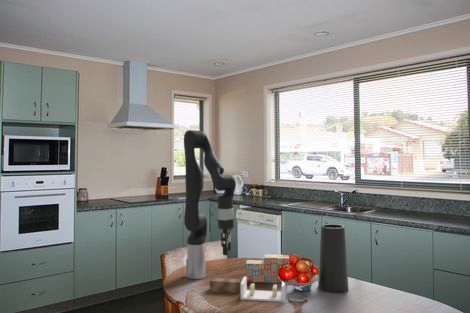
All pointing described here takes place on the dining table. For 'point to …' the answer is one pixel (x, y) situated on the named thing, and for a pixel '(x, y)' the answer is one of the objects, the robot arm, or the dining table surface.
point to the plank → (225, 285)
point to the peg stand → (262, 293)
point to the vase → (333, 259)
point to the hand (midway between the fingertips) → (227, 252)
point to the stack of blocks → (265, 268)
